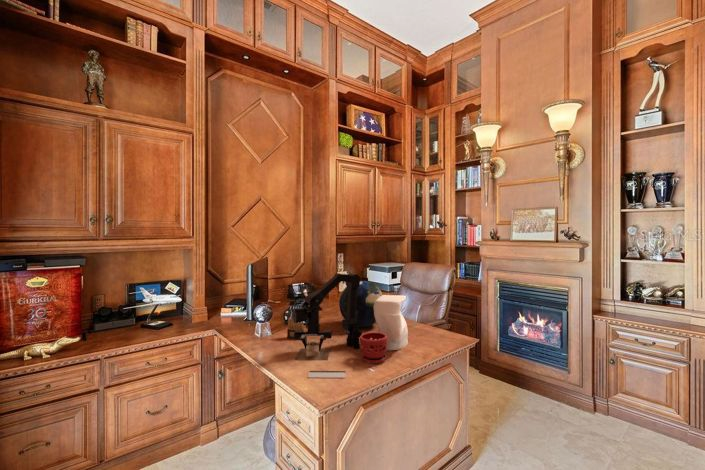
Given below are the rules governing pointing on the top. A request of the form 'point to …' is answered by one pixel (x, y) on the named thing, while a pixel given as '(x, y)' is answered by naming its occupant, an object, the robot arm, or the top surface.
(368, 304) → the globe
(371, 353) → the plant pot
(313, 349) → the collar
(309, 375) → the mat
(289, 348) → the top surface
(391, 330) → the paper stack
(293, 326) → the ammunition clip
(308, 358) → the post stand
